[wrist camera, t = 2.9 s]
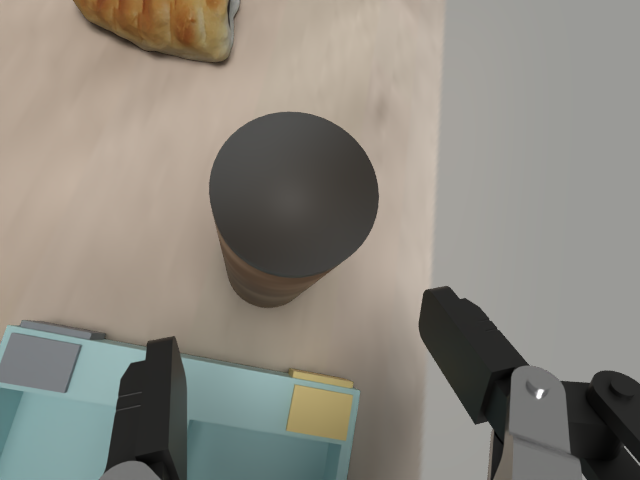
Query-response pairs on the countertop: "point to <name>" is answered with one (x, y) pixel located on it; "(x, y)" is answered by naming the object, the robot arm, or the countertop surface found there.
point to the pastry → (169, 25)
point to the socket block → (202, 411)
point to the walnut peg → (289, 204)
